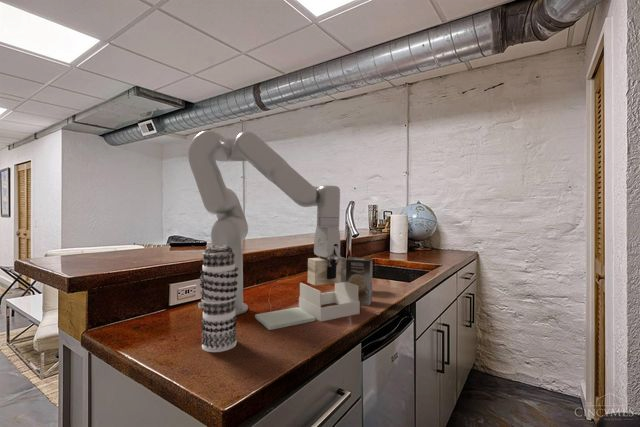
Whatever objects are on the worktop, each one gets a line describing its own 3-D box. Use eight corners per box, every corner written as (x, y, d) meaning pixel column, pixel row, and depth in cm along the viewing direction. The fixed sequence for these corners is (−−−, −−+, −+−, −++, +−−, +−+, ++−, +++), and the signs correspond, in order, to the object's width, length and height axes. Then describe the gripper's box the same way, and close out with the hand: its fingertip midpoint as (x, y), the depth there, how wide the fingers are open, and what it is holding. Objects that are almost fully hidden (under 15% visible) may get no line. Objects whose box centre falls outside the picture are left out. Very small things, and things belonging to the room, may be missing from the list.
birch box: (314, 285, 104) (315, 260, 104) (307, 282, 108) (308, 258, 108) (345, 282, 110) (346, 258, 110) (337, 279, 114) (338, 256, 114)
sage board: (269, 330, 92) (269, 326, 92) (255, 317, 102) (255, 314, 102) (315, 320, 100) (315, 317, 100) (297, 310, 110) (297, 307, 110)
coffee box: (344, 303, 118) (344, 259, 117) (348, 298, 124) (348, 256, 123) (369, 306, 115) (369, 260, 114) (372, 301, 121) (373, 257, 120)
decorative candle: (240, 349, 79) (240, 247, 79) (200, 355, 76) (199, 249, 76) (236, 335, 88) (236, 243, 88) (200, 340, 85) (199, 245, 84)
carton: (320, 321, 99) (320, 292, 99) (298, 308, 112) (298, 282, 112) (359, 313, 106) (359, 286, 106) (335, 302, 119) (335, 277, 119)
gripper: (306, 221, 114) (305, 273, 114) (332, 224, 99) (331, 283, 100) (324, 221, 118) (323, 271, 118) (352, 224, 103) (350, 281, 103)
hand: (326, 276), depth 109 cm, fingers closed on birch box, 5 cm apart
